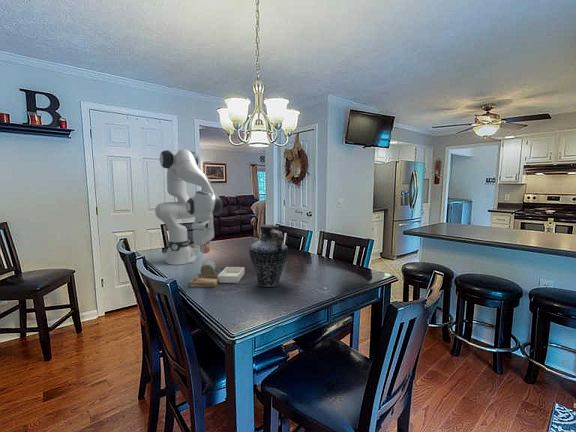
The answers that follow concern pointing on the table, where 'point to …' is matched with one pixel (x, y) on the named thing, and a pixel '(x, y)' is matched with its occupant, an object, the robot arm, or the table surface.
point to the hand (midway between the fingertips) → (205, 250)
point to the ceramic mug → (209, 268)
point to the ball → (206, 248)
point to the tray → (204, 281)
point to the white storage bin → (231, 275)
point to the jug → (269, 256)
